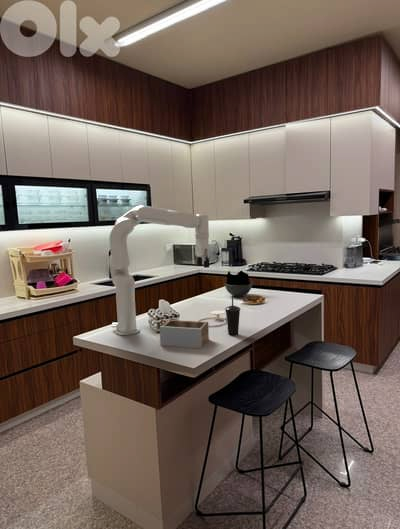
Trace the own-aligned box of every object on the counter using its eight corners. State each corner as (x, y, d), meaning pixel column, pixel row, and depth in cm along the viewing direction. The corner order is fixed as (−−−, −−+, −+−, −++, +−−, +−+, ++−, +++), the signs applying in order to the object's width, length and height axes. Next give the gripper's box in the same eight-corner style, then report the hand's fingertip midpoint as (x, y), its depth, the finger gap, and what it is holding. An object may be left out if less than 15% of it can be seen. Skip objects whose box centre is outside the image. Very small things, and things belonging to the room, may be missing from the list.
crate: (161, 344, 174) (160, 326, 173) (170, 337, 185) (169, 319, 184) (202, 347, 168) (201, 328, 167) (208, 339, 179) (208, 321, 178)
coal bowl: (256, 294, 274) (256, 269, 272) (245, 300, 257) (244, 274, 255) (232, 292, 285) (232, 268, 282) (220, 298, 268) (219, 272, 265)
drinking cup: (239, 332, 189) (239, 293, 187) (241, 336, 182) (241, 297, 179) (224, 332, 189) (224, 294, 186) (226, 337, 181) (225, 297, 179)
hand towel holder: (190, 317, 204) (208, 309, 222) (190, 325, 205) (209, 316, 222) (216, 321, 195) (234, 312, 213) (217, 329, 196) (234, 319, 213)
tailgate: (160, 345, 173) (159, 326, 172) (161, 344, 174) (160, 325, 173) (201, 348, 167) (200, 329, 166) (202, 347, 168) (201, 328, 167)
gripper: (190, 236, 213) (191, 265, 216) (202, 237, 198) (203, 268, 200) (202, 235, 216) (203, 264, 219) (214, 236, 201) (215, 267, 203)
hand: (203, 266), depth 209 cm, fingers open, 9 cm apart
